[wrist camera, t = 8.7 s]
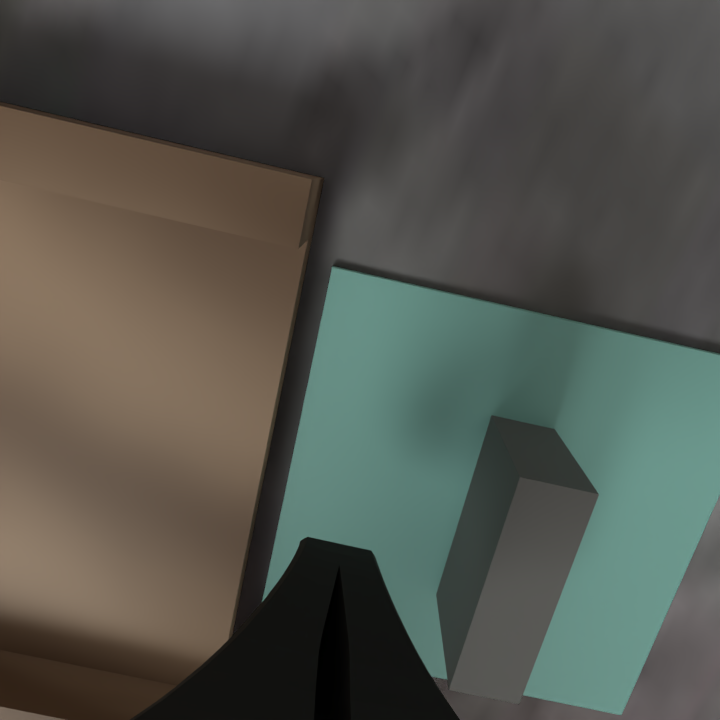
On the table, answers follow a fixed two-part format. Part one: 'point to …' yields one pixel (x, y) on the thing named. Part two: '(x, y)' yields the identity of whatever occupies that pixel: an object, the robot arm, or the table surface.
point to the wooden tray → (133, 402)
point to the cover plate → (506, 482)
